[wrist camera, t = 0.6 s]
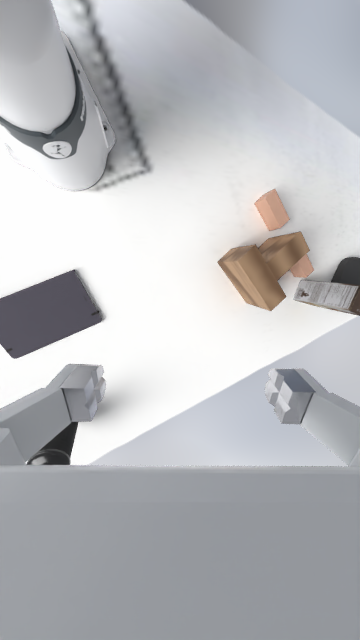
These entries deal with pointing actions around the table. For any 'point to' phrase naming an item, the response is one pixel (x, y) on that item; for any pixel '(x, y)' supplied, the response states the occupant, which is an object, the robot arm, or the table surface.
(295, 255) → the t block
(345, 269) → the media streaming box
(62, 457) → the drinking cup
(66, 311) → the notebook
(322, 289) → the coffee box
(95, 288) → the table surface
